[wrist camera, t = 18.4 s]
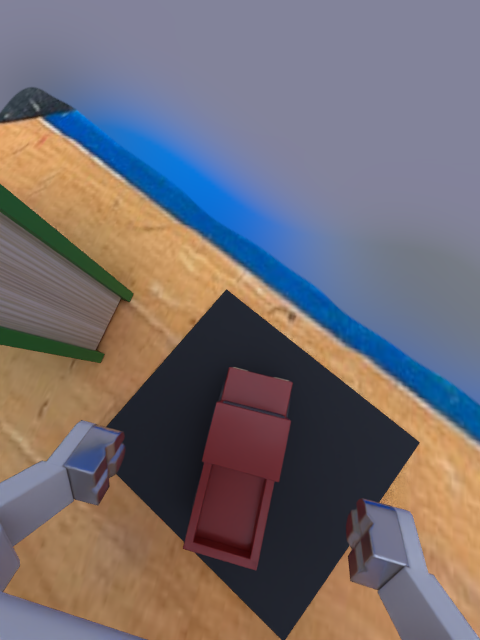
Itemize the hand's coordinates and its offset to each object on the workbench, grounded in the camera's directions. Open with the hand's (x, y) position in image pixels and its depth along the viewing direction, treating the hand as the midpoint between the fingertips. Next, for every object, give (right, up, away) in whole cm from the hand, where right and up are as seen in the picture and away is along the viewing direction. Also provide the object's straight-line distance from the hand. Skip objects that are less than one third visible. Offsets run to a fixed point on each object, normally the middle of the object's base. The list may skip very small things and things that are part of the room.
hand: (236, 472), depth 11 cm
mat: (+1, -6, +17) cm, 18 cm away
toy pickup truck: (0, -6, +17) cm, 18 cm away
